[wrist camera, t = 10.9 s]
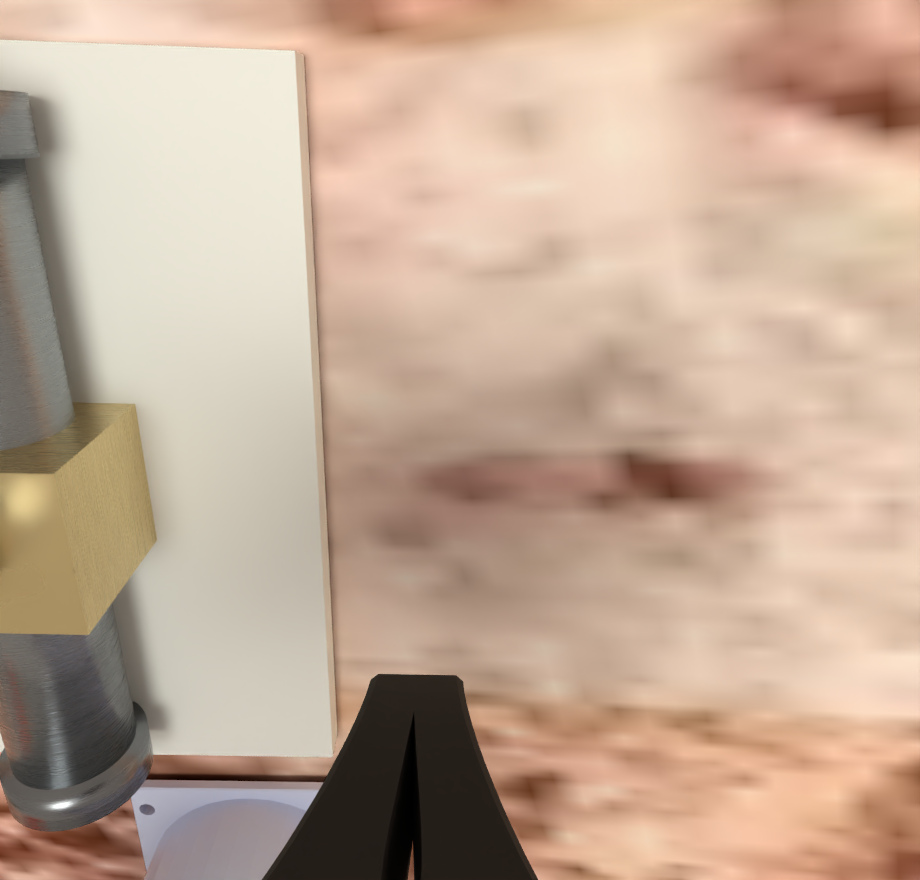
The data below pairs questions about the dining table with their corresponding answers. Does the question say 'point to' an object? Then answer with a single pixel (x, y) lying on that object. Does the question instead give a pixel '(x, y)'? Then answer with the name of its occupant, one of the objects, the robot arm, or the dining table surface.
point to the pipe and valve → (60, 543)
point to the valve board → (198, 368)
